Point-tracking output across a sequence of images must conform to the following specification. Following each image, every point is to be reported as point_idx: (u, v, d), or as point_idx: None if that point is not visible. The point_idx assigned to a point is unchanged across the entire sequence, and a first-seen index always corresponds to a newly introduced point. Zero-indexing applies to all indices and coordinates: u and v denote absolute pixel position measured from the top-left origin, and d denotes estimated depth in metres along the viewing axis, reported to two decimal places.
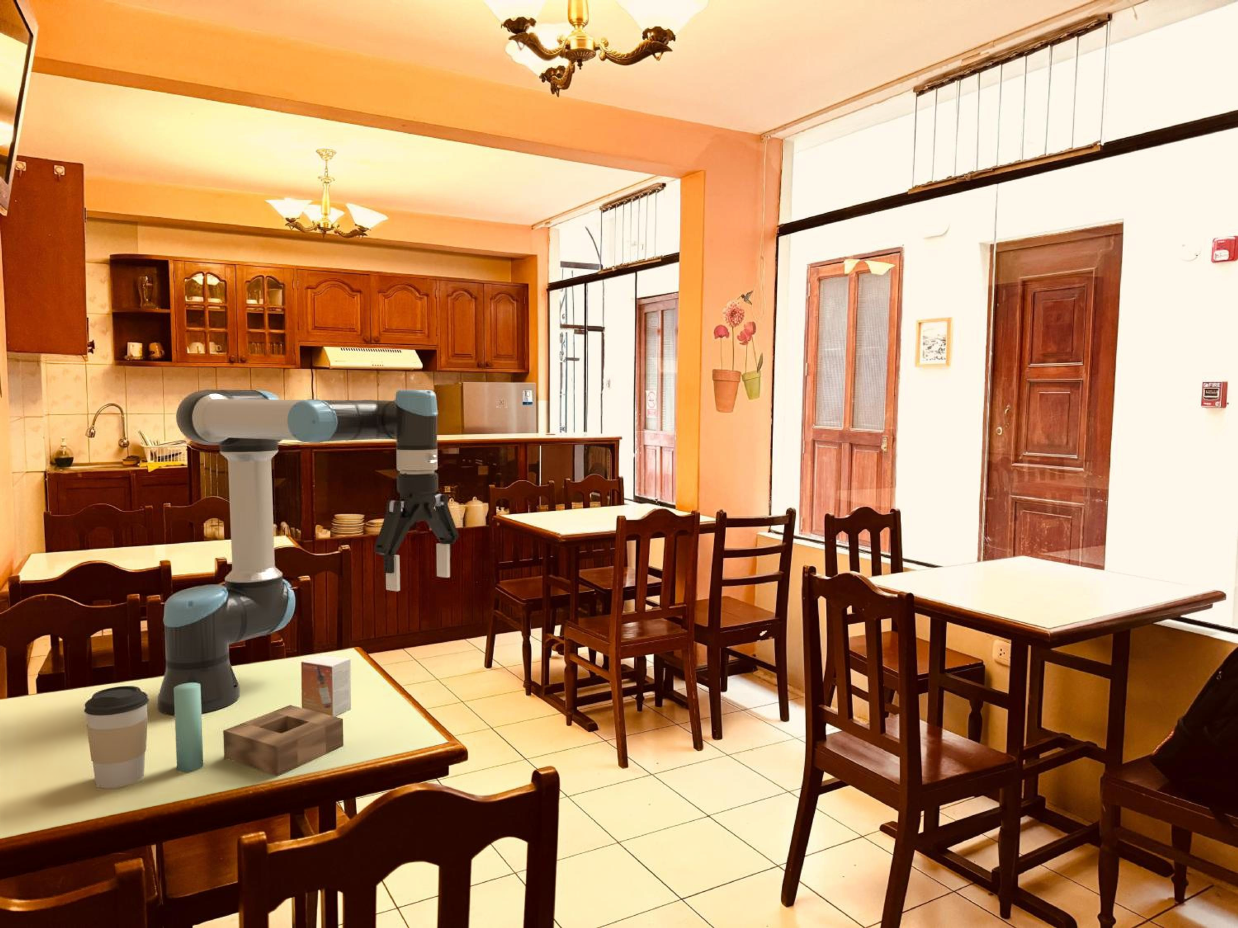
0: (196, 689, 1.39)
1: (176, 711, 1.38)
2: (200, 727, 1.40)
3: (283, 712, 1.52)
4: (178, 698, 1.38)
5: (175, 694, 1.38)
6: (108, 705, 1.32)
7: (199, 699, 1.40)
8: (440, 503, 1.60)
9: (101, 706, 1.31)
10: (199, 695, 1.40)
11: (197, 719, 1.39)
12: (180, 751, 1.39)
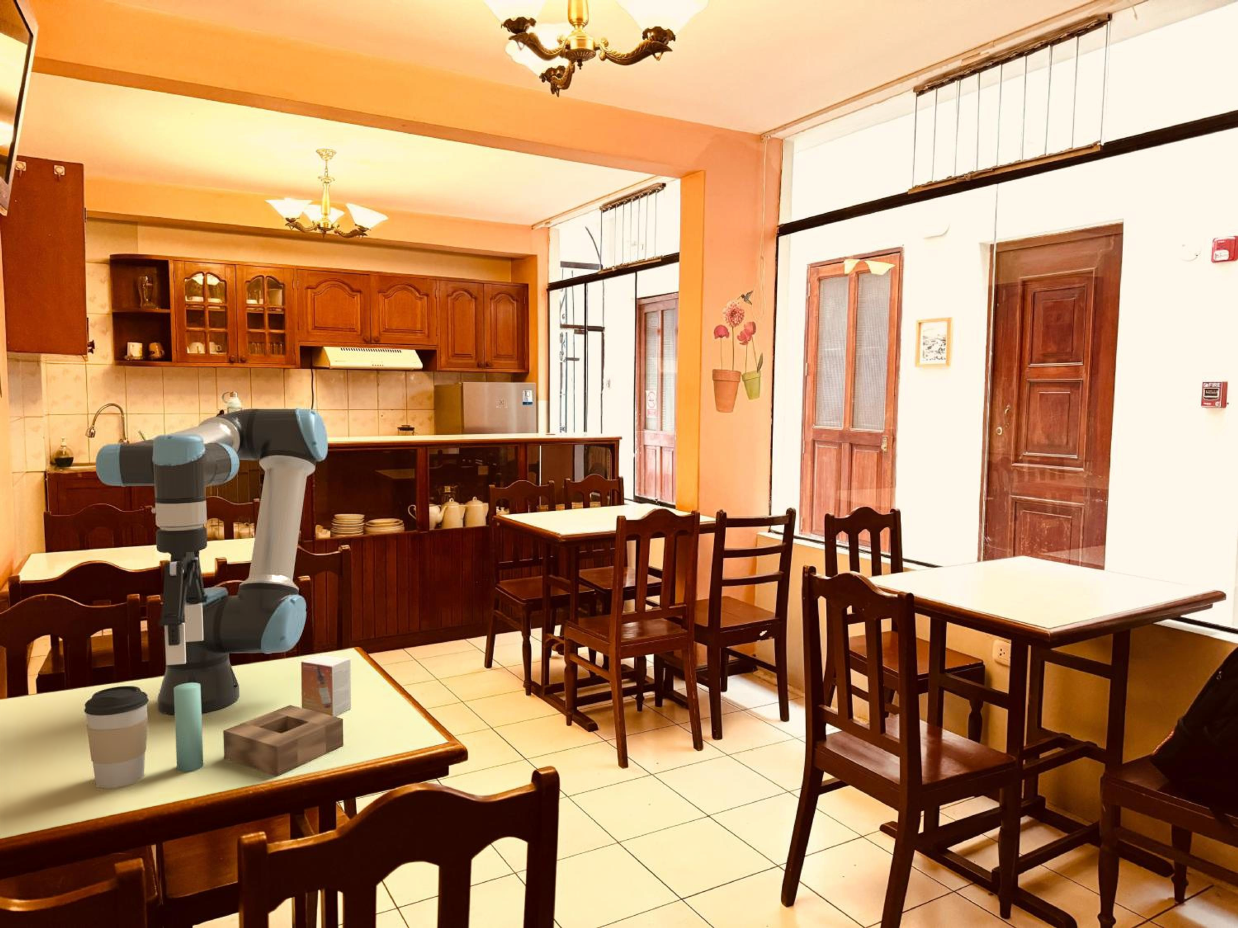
0: (196, 689, 1.39)
1: (176, 711, 1.38)
2: (200, 727, 1.40)
3: (283, 712, 1.52)
4: (178, 698, 1.38)
5: (175, 694, 1.38)
6: (108, 705, 1.32)
7: (199, 699, 1.40)
8: None
9: (101, 706, 1.31)
10: (199, 695, 1.40)
11: (197, 719, 1.39)
12: (180, 751, 1.39)
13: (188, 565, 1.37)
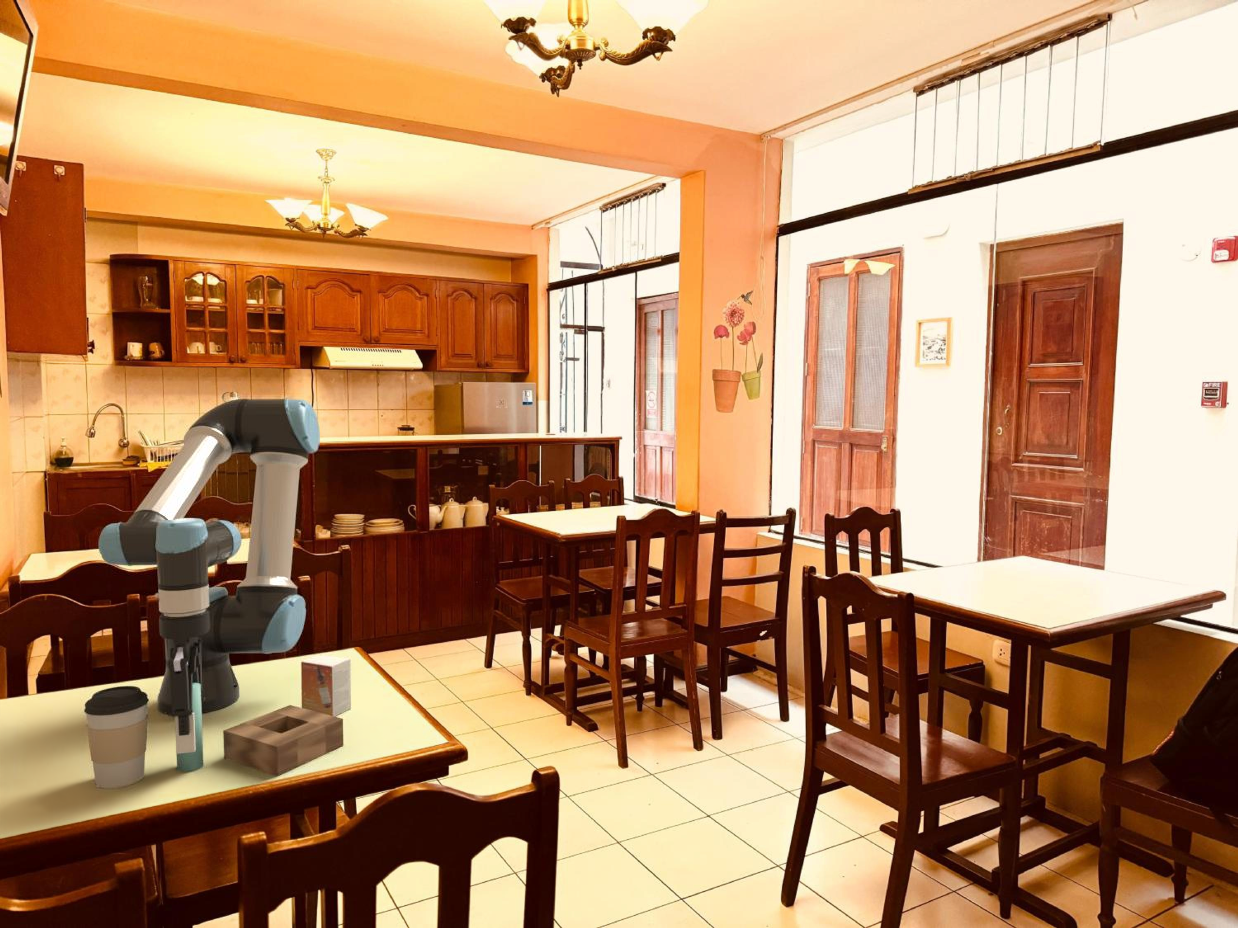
0: (196, 689, 1.39)
1: None
2: (200, 727, 1.40)
3: (283, 712, 1.52)
4: None
5: None
6: (108, 705, 1.32)
7: (199, 699, 1.40)
8: None
9: (101, 706, 1.31)
10: (199, 695, 1.40)
11: (197, 719, 1.39)
12: None
13: (191, 652, 1.38)
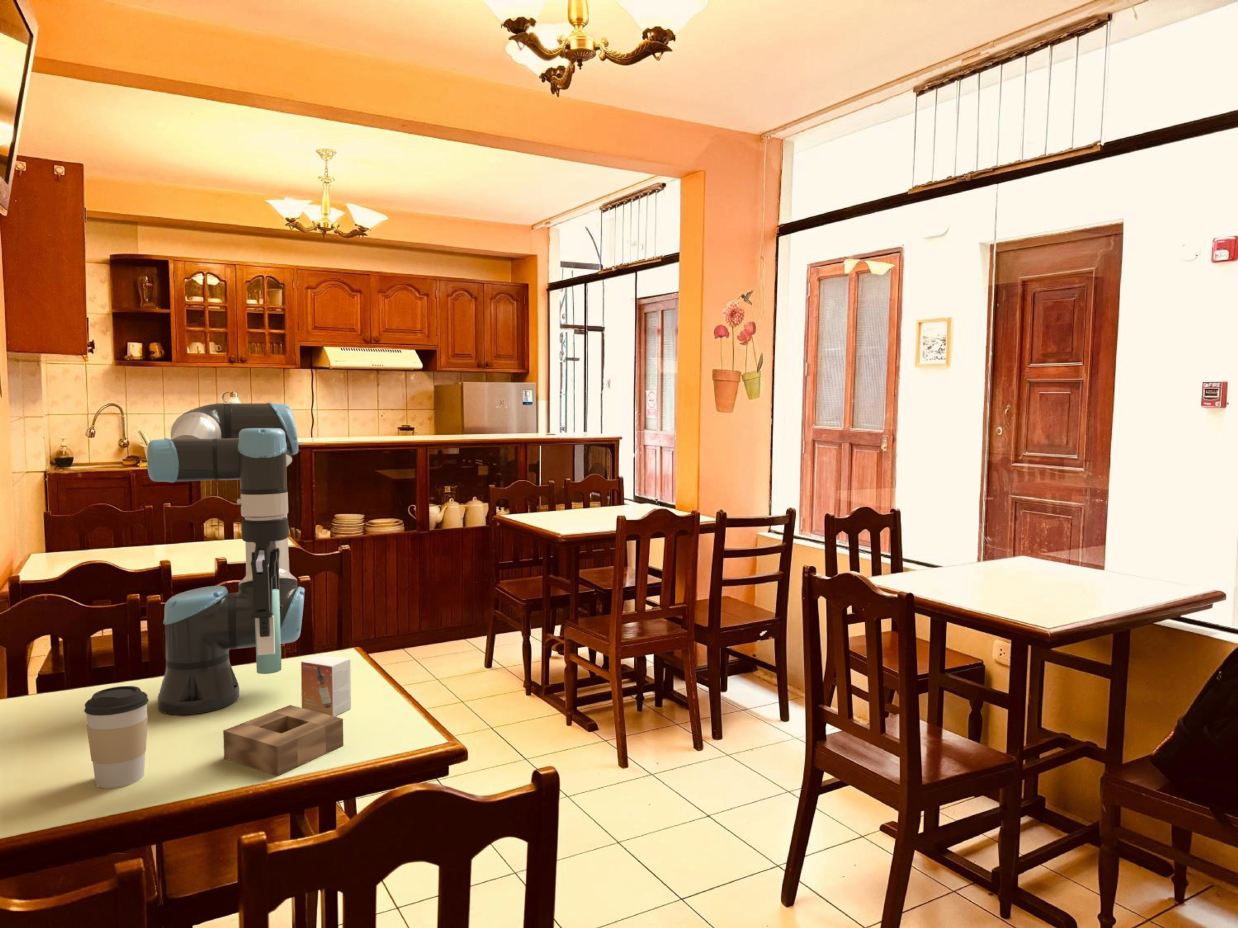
0: (275, 593, 1.43)
1: None
2: (279, 631, 1.44)
3: (283, 712, 1.52)
4: None
5: None
6: (108, 705, 1.32)
7: (278, 604, 1.44)
8: None
9: (101, 706, 1.31)
10: (278, 600, 1.44)
11: (276, 623, 1.43)
12: None
13: (271, 556, 1.42)
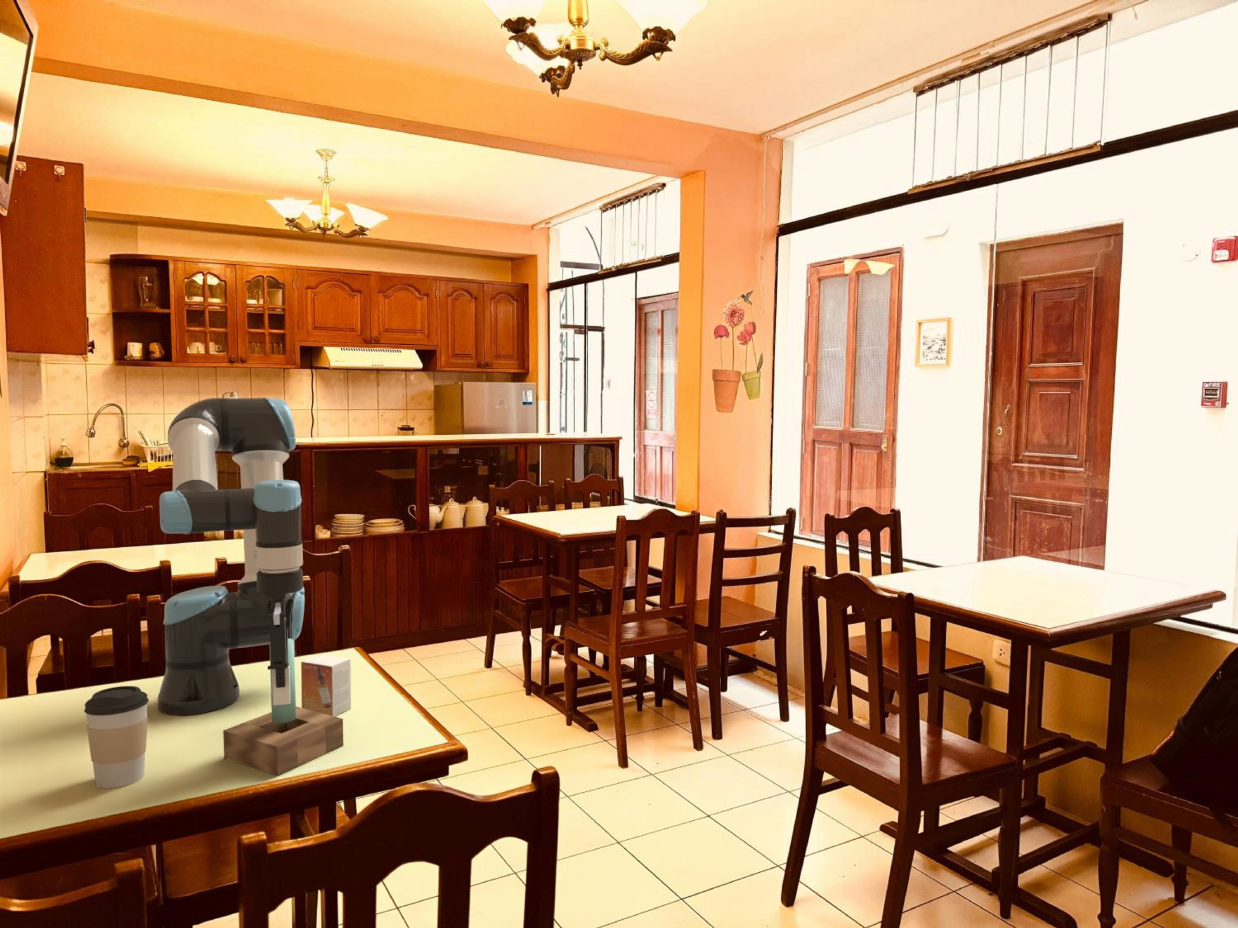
0: (291, 644, 1.45)
1: None
2: (294, 681, 1.46)
3: None
4: None
5: None
6: (108, 705, 1.32)
7: (293, 654, 1.46)
8: None
9: (101, 706, 1.31)
10: (293, 650, 1.46)
11: (291, 673, 1.45)
12: None
13: (286, 608, 1.43)
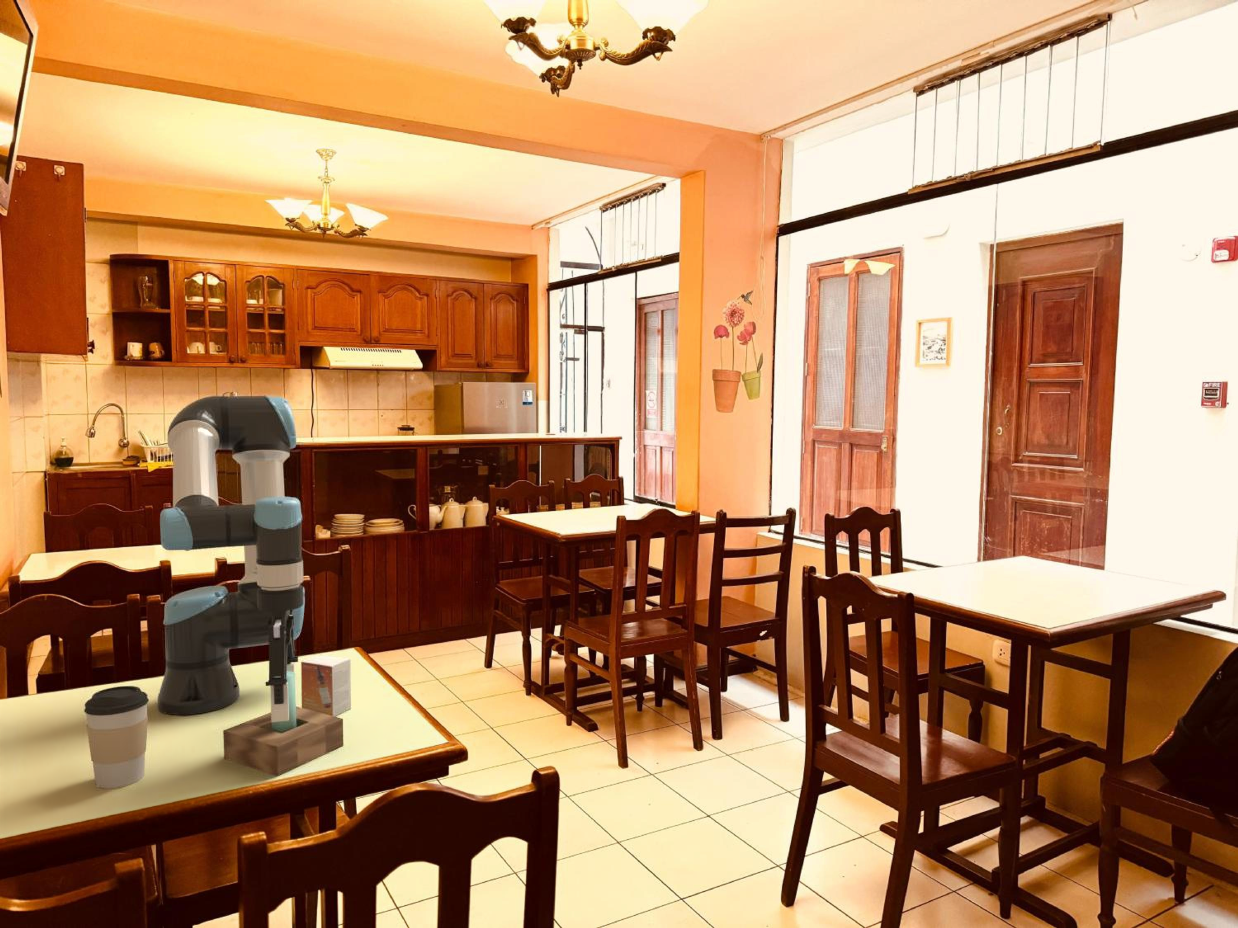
0: (292, 677, 1.45)
1: None
2: (295, 714, 1.46)
3: None
4: None
5: None
6: (108, 705, 1.32)
7: (294, 687, 1.46)
8: None
9: (101, 706, 1.31)
10: (294, 683, 1.46)
11: (292, 706, 1.46)
12: None
13: (287, 623, 1.44)
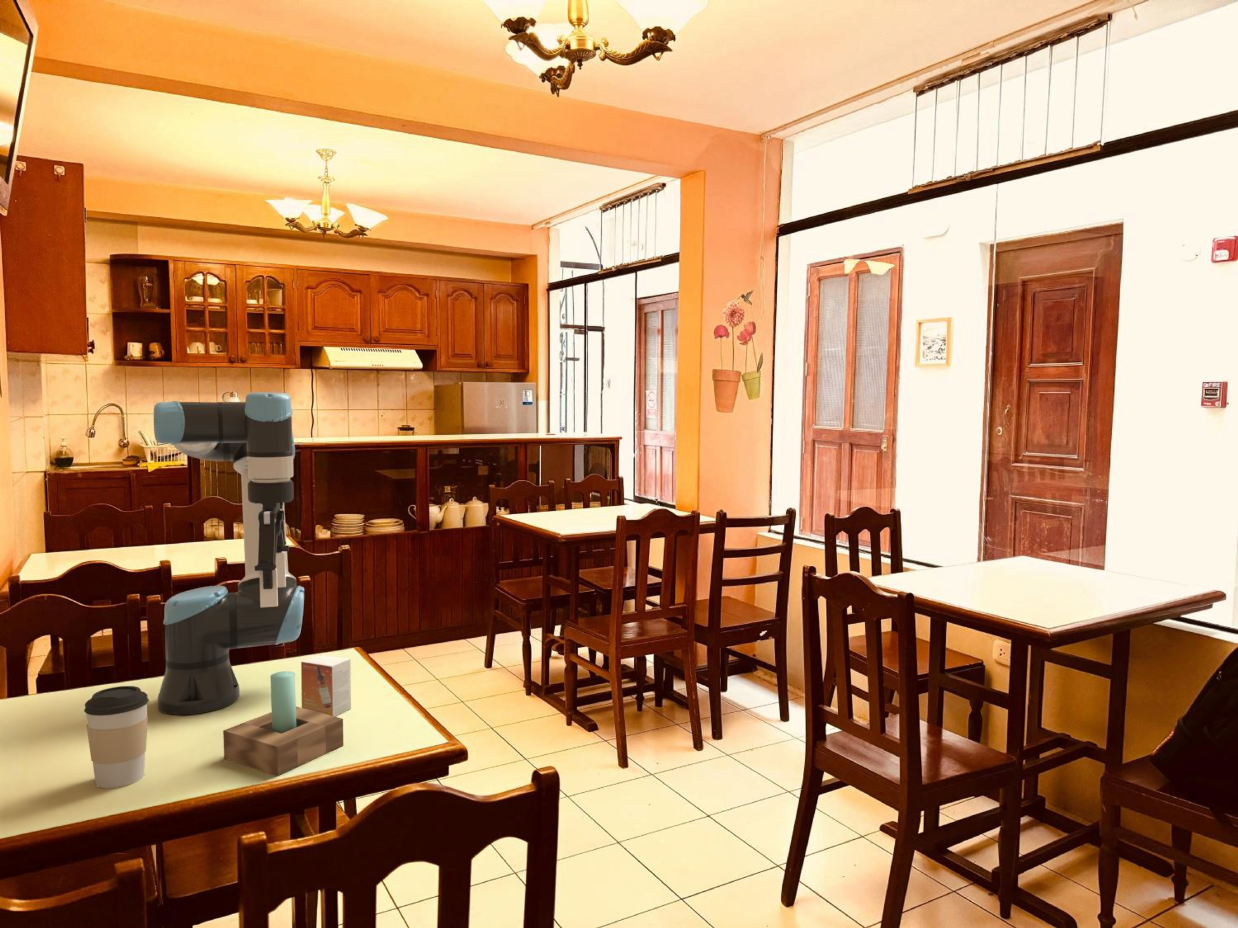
0: (292, 677, 1.45)
1: (273, 698, 1.44)
2: (295, 713, 1.46)
3: None
4: (275, 685, 1.44)
5: (272, 682, 1.44)
6: (108, 705, 1.32)
7: (294, 687, 1.46)
8: None
9: (101, 706, 1.31)
10: (294, 683, 1.46)
11: (292, 706, 1.46)
12: None
13: (277, 515, 1.46)
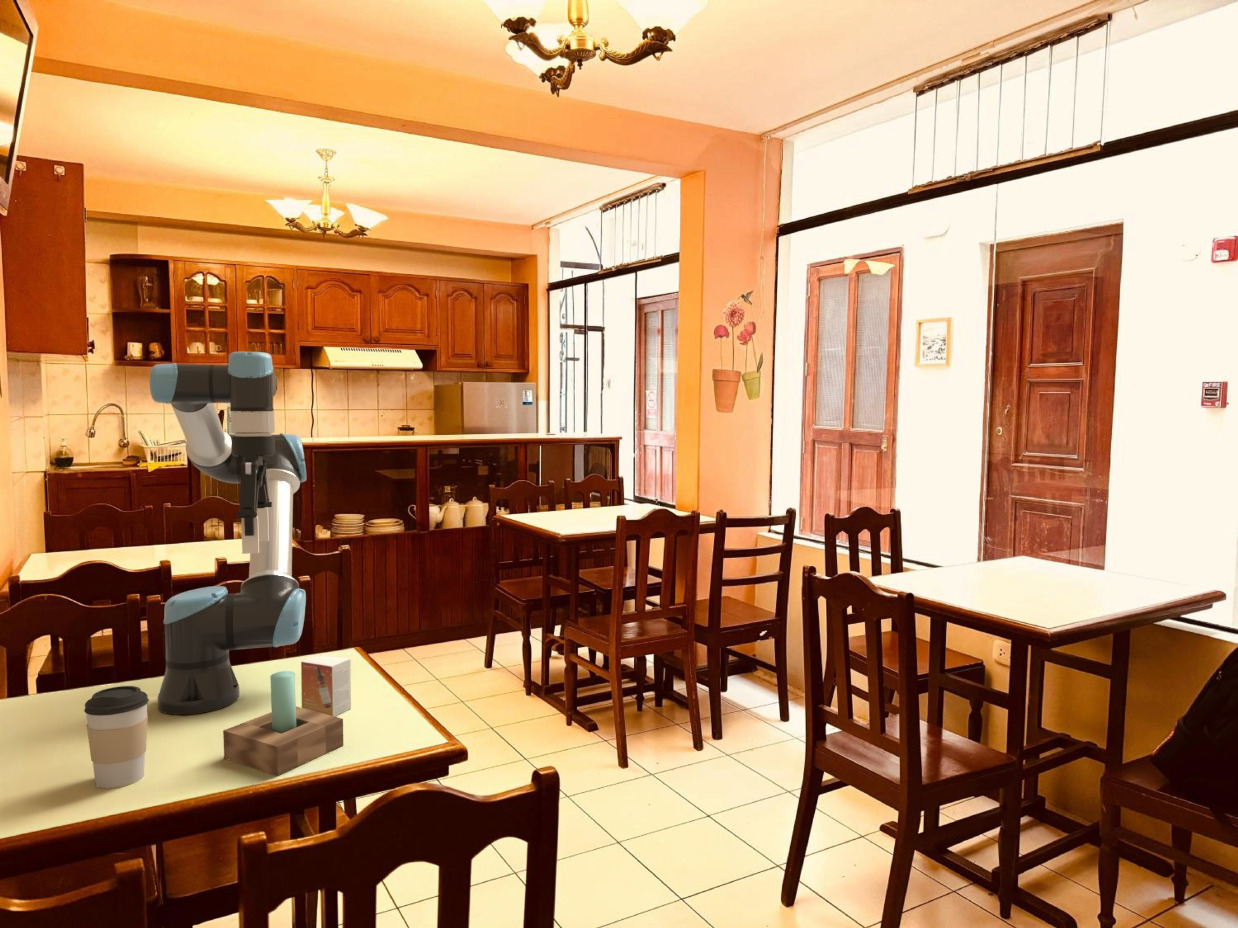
0: (292, 677, 1.45)
1: (273, 698, 1.44)
2: (295, 713, 1.46)
3: None
4: (275, 685, 1.44)
5: (272, 682, 1.44)
6: (108, 705, 1.32)
7: (294, 687, 1.46)
8: None
9: (101, 706, 1.31)
10: (294, 683, 1.46)
11: (292, 706, 1.46)
12: None
13: (259, 468, 1.54)
